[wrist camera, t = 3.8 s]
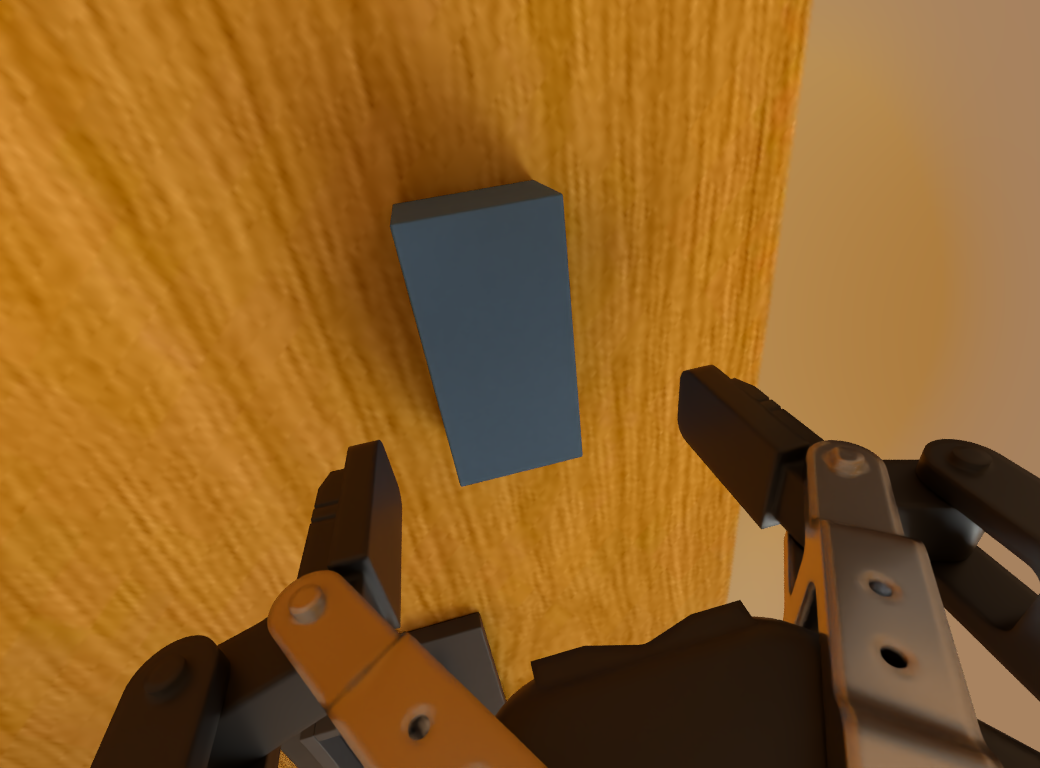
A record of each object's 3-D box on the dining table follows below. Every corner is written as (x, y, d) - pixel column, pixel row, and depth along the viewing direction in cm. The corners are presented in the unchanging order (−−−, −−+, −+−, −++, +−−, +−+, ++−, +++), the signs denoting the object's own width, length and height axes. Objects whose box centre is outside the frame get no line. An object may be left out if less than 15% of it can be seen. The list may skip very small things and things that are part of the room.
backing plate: (521, 751, 38) (528, 789, 36) (351, 806, 36) (347, 849, 34) (478, 611, 28) (485, 652, 25) (237, 680, 26) (222, 729, 24)
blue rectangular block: (558, 410, 21) (582, 457, 18) (452, 434, 21) (460, 487, 18) (534, 179, 16) (563, 193, 13) (392, 204, 16) (389, 224, 13)
